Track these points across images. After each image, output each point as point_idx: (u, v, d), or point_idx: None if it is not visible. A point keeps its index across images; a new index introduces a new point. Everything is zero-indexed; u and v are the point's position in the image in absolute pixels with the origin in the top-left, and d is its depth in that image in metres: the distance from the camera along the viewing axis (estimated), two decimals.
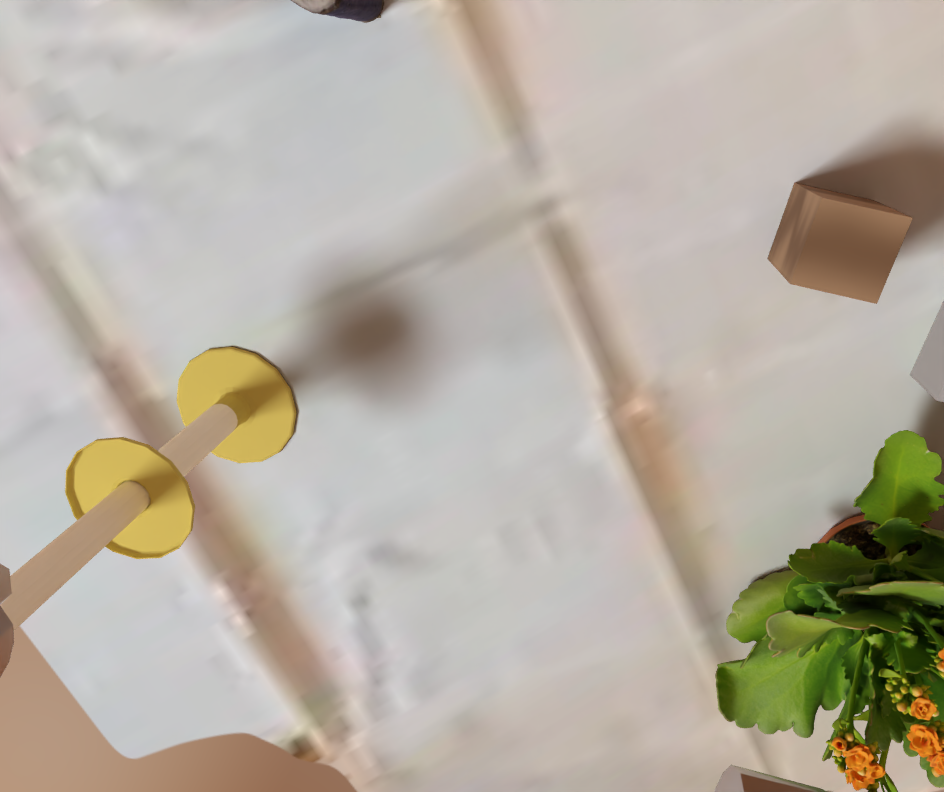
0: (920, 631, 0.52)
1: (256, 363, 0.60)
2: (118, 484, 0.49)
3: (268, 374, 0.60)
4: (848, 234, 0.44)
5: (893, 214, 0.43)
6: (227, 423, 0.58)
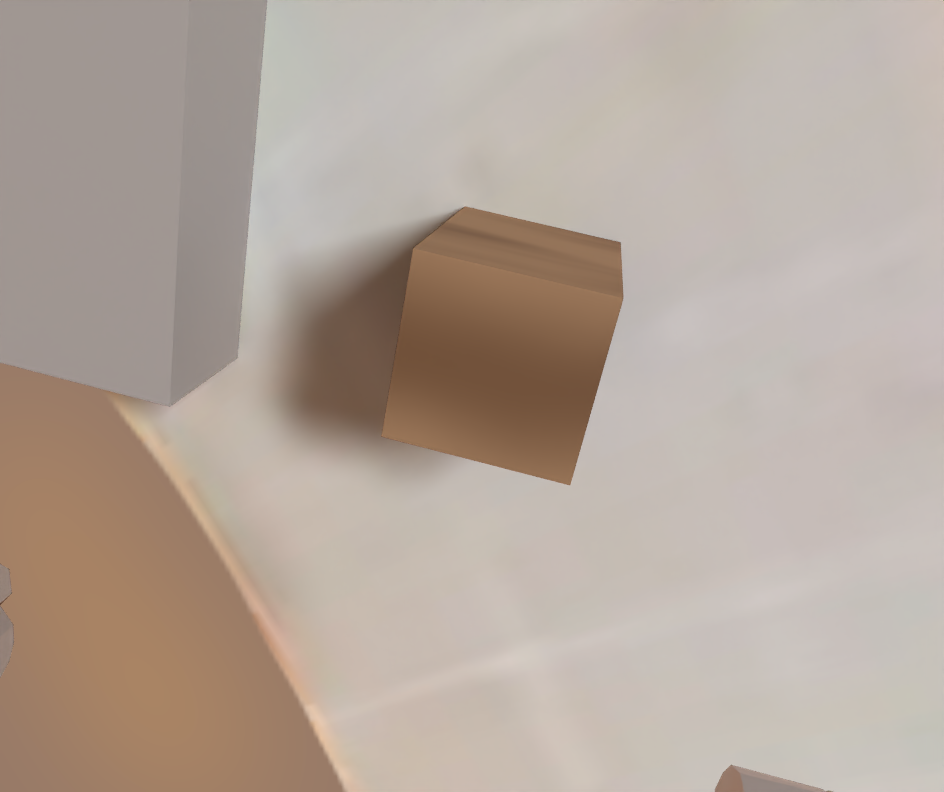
0: None
1: None
2: None
3: None
4: (503, 407, 0.19)
5: (420, 444, 0.20)
6: None
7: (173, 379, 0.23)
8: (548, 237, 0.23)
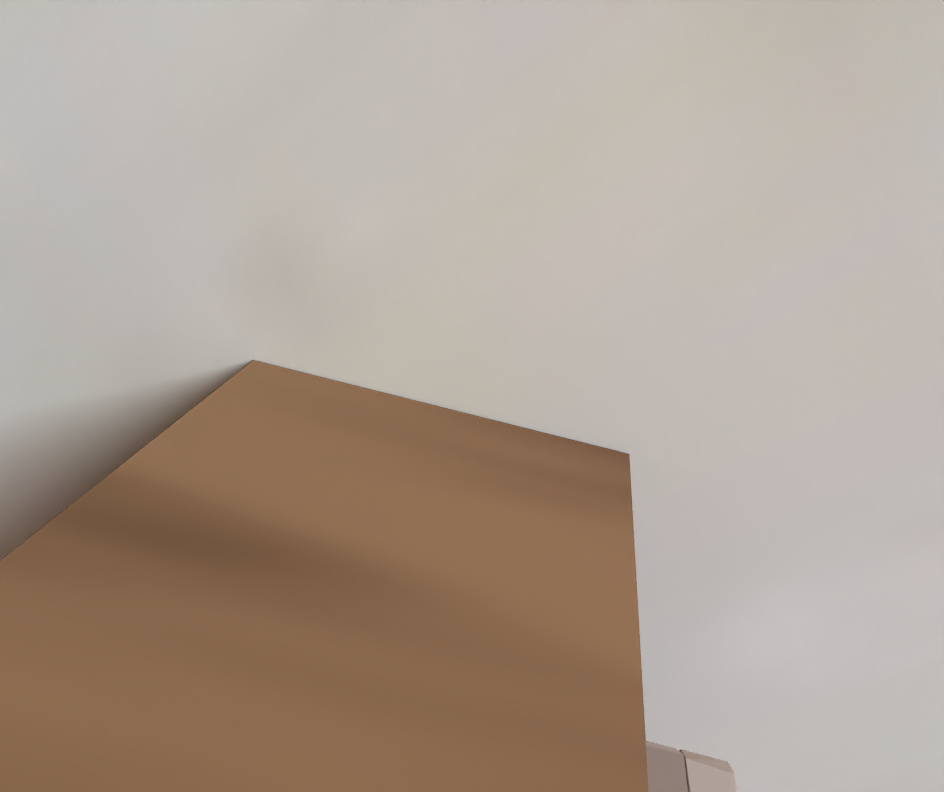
0: None
1: None
2: None
3: None
4: None
5: None
6: None
7: None
8: (434, 482, 0.08)
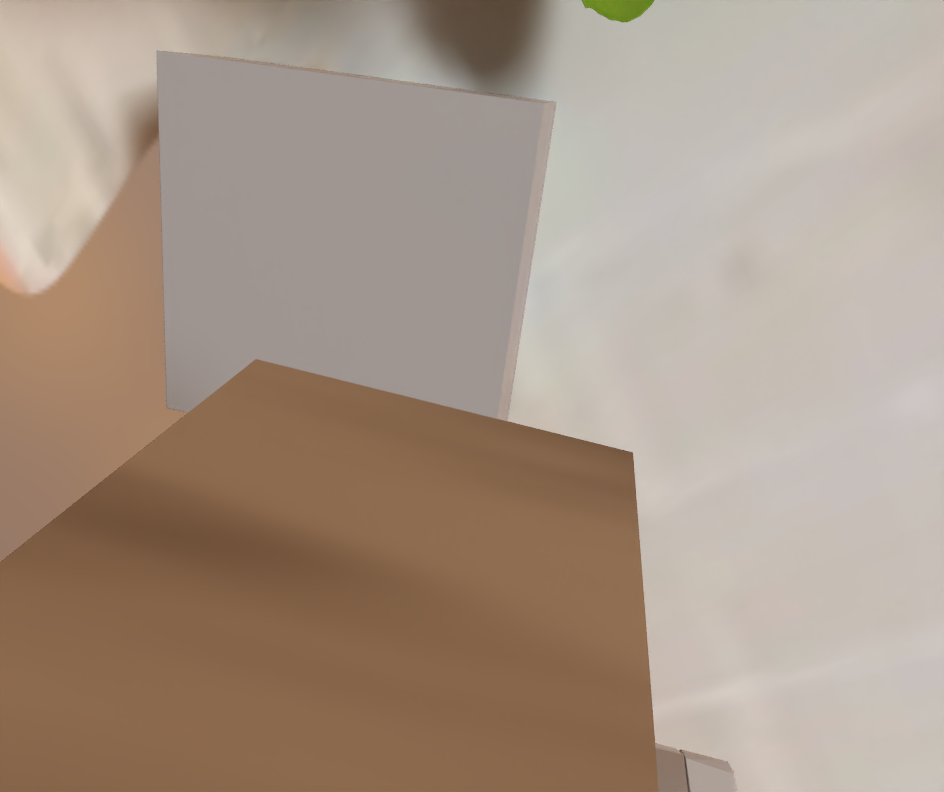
0: None
1: None
2: None
3: None
4: None
5: None
6: None
7: None
8: (438, 480, 0.08)
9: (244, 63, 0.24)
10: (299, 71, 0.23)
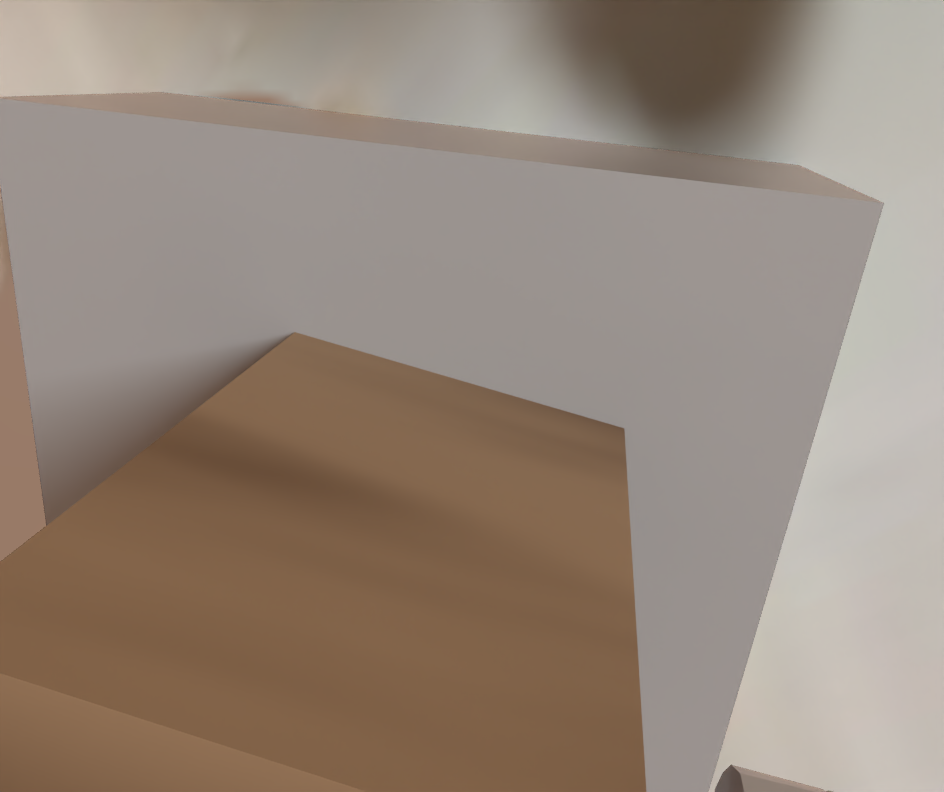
0: None
1: None
2: None
3: None
4: None
5: None
6: None
7: None
8: (458, 439, 0.10)
9: (181, 122, 0.11)
10: (305, 137, 0.10)
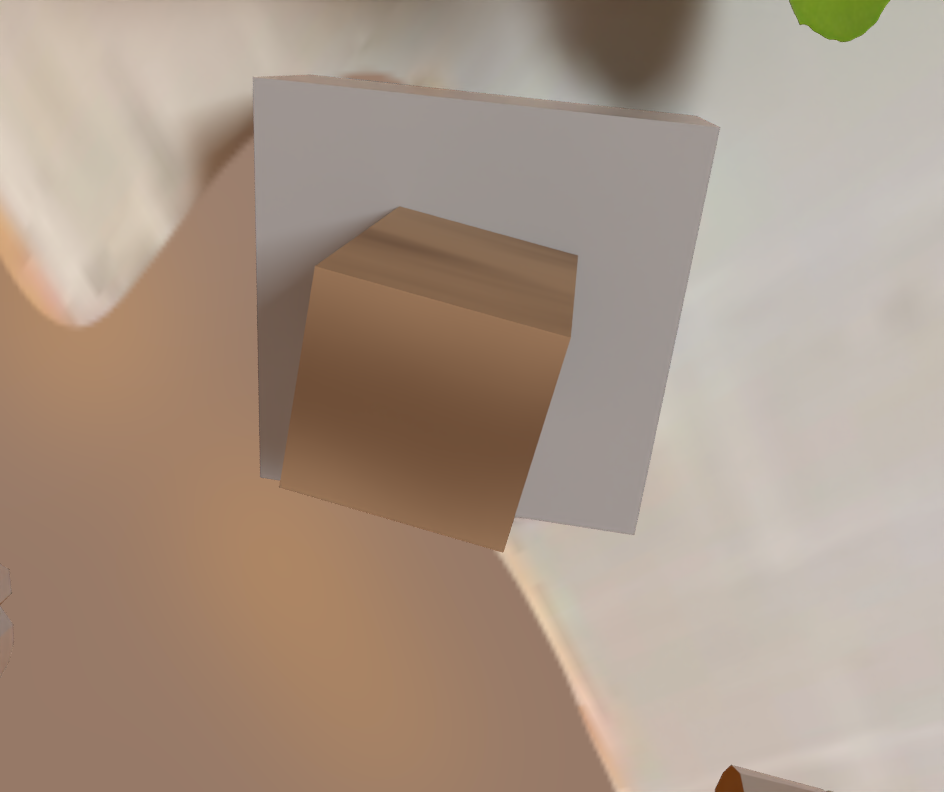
0: None
1: None
2: None
3: None
4: (425, 460, 0.16)
5: (325, 498, 0.17)
6: None
7: None
8: (492, 249, 0.19)
9: (359, 89, 0.20)
10: (426, 97, 0.20)
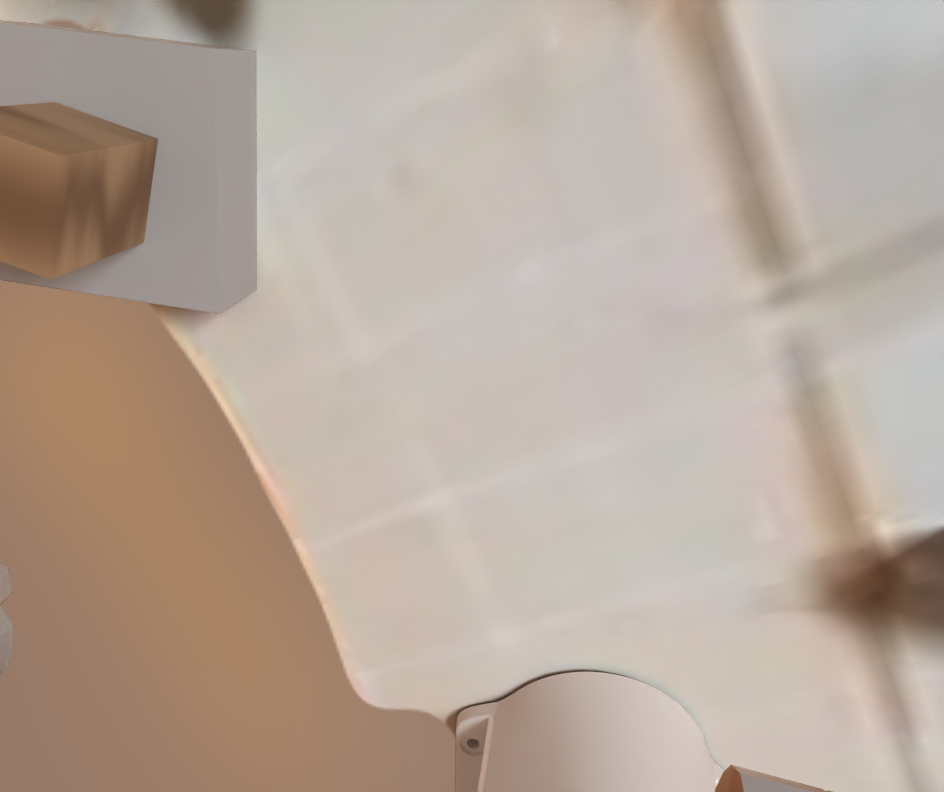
0: None
1: None
2: None
3: None
4: (4, 223, 0.30)
5: None
6: None
7: (220, 296, 0.38)
8: (89, 126, 0.34)
9: (16, 24, 0.34)
10: (53, 29, 0.34)
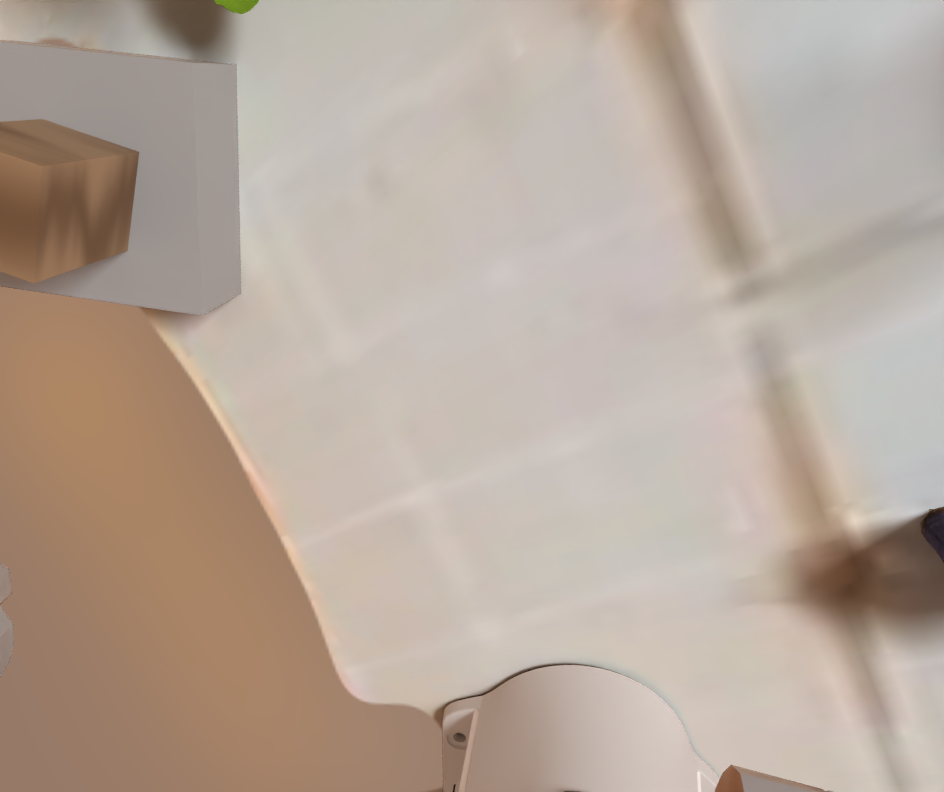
0: None
1: None
2: None
3: None
4: None
5: None
6: None
7: (202, 298, 0.40)
8: (73, 140, 0.36)
9: (7, 43, 0.36)
10: (41, 47, 0.36)
